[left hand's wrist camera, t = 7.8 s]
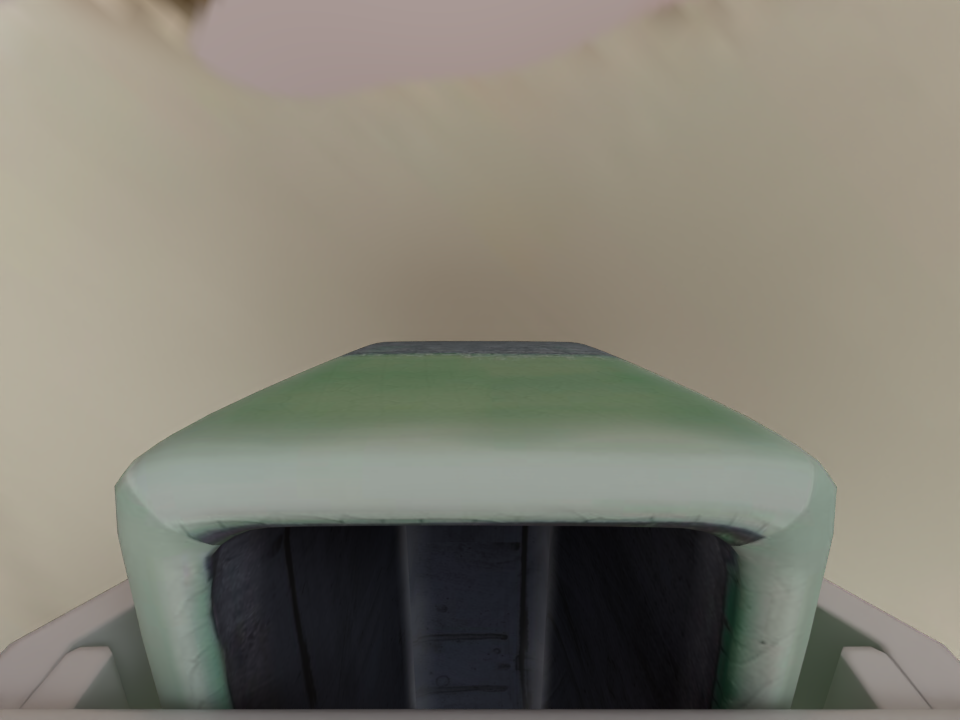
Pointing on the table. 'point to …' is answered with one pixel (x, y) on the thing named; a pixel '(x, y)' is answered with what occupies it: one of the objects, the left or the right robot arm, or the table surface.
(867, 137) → the table surface
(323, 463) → the planter
